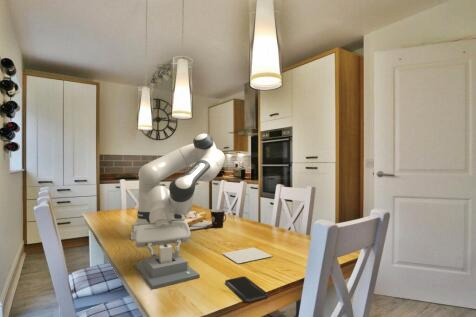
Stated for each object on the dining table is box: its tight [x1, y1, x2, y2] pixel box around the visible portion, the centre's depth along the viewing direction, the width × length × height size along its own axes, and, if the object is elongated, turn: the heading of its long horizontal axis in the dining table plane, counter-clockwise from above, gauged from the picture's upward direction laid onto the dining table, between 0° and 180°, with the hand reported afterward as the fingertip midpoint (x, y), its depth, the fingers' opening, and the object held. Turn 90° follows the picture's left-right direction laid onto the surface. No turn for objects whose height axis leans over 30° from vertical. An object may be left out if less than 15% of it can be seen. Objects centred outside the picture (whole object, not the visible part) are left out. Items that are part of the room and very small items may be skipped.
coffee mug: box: [210, 209, 227, 229], centre depth 168 cm, size 12×9×10 cm
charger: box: [158, 244, 173, 264], centre depth 100 cm, size 4×4×8 cm
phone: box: [225, 275, 269, 304], centre depth 86 cm, size 8×1×15 cm
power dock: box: [134, 252, 200, 290], centre depth 100 cm, size 24×16×4 cm, turn 33°
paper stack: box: [222, 246, 272, 264], centre depth 111 cm, size 23×25×1 cm
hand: (165, 253), depth 100 cm, fingers open, 7 cm apart
